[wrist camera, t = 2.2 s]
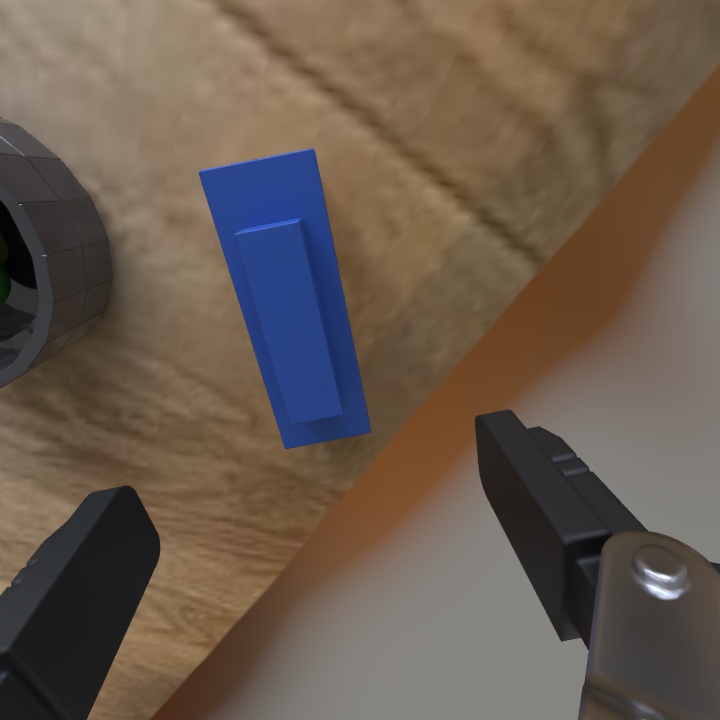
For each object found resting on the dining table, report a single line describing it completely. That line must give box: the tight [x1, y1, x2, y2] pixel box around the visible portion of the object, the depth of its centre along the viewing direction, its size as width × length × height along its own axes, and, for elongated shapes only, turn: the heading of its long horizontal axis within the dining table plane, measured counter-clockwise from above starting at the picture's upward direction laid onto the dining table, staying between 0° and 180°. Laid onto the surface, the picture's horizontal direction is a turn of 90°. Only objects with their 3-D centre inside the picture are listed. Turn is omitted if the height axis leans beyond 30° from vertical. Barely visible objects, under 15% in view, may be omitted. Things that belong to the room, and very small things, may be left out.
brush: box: [199, 148, 371, 449], centre depth 20 cm, size 14×5×6 cm, turn 10°
